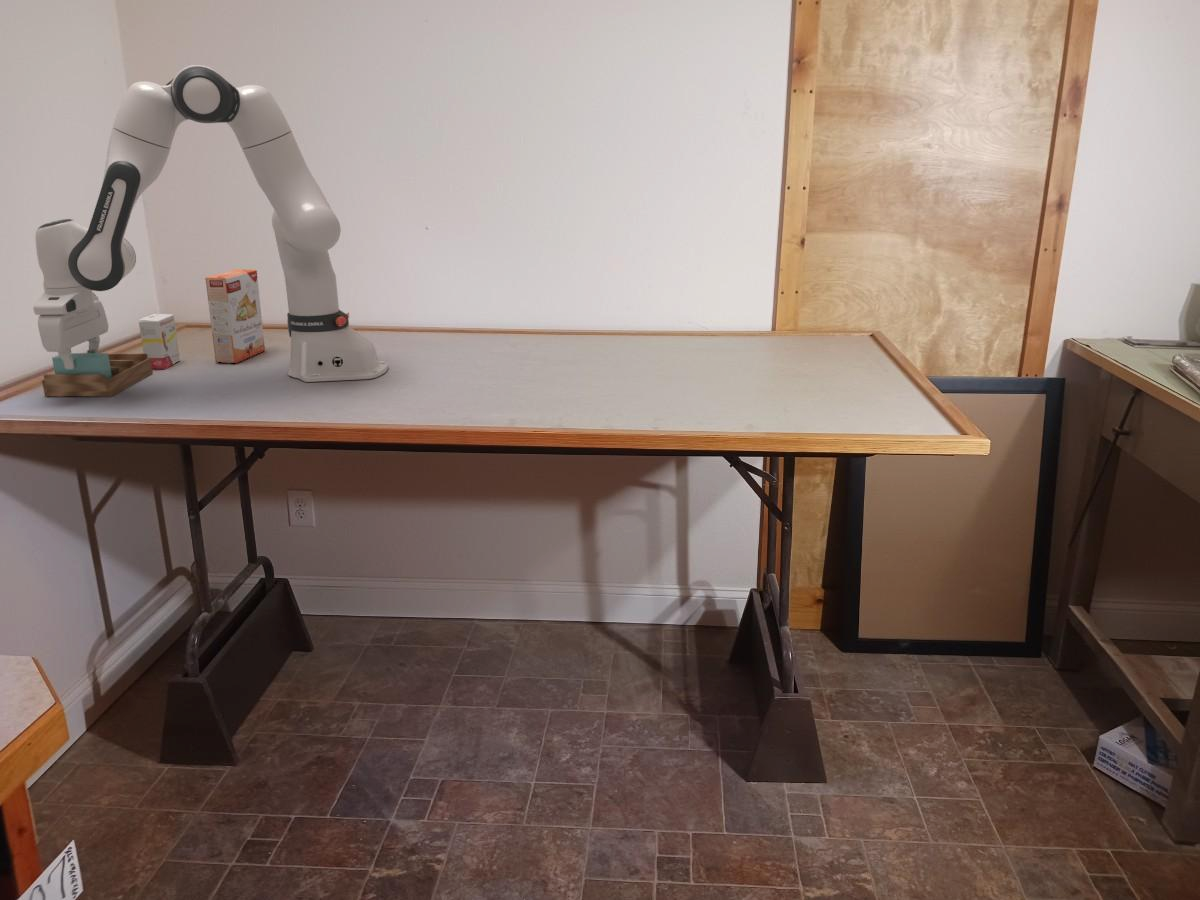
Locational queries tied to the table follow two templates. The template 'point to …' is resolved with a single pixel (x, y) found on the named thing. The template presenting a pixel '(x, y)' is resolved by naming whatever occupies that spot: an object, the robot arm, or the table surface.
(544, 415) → the table surface
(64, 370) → the teal block
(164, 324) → the ink box
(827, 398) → the table surface
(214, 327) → the cracker box
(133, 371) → the rack
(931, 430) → the table surface
